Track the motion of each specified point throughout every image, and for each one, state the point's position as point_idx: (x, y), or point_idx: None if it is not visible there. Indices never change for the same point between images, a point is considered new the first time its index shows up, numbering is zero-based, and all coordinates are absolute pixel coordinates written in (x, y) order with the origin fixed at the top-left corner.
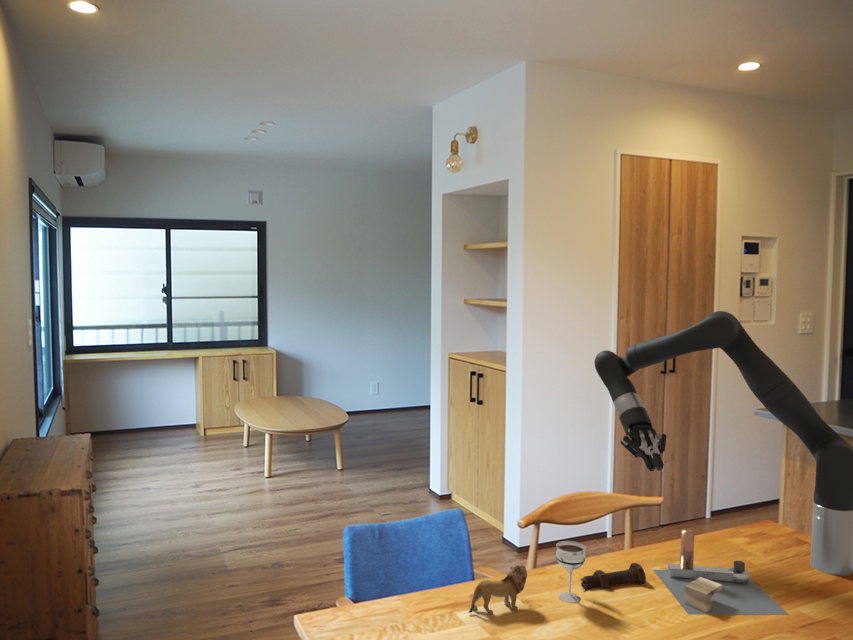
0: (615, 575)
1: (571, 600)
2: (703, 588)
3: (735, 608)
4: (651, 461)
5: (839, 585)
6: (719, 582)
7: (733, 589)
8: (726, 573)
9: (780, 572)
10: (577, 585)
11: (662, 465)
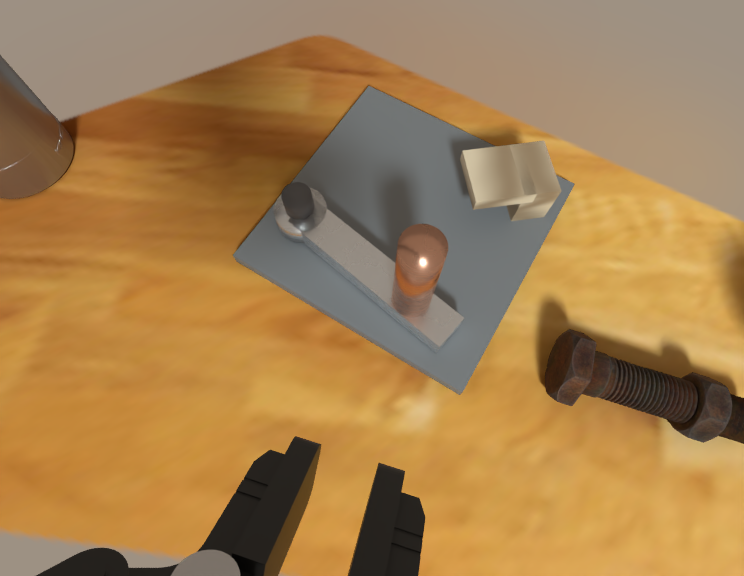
0: (662, 378)
1: None
2: (526, 160)
3: (450, 149)
4: (391, 520)
5: (99, 117)
6: None
7: (364, 201)
8: (341, 220)
9: (131, 218)
10: (738, 468)
11: (297, 443)
